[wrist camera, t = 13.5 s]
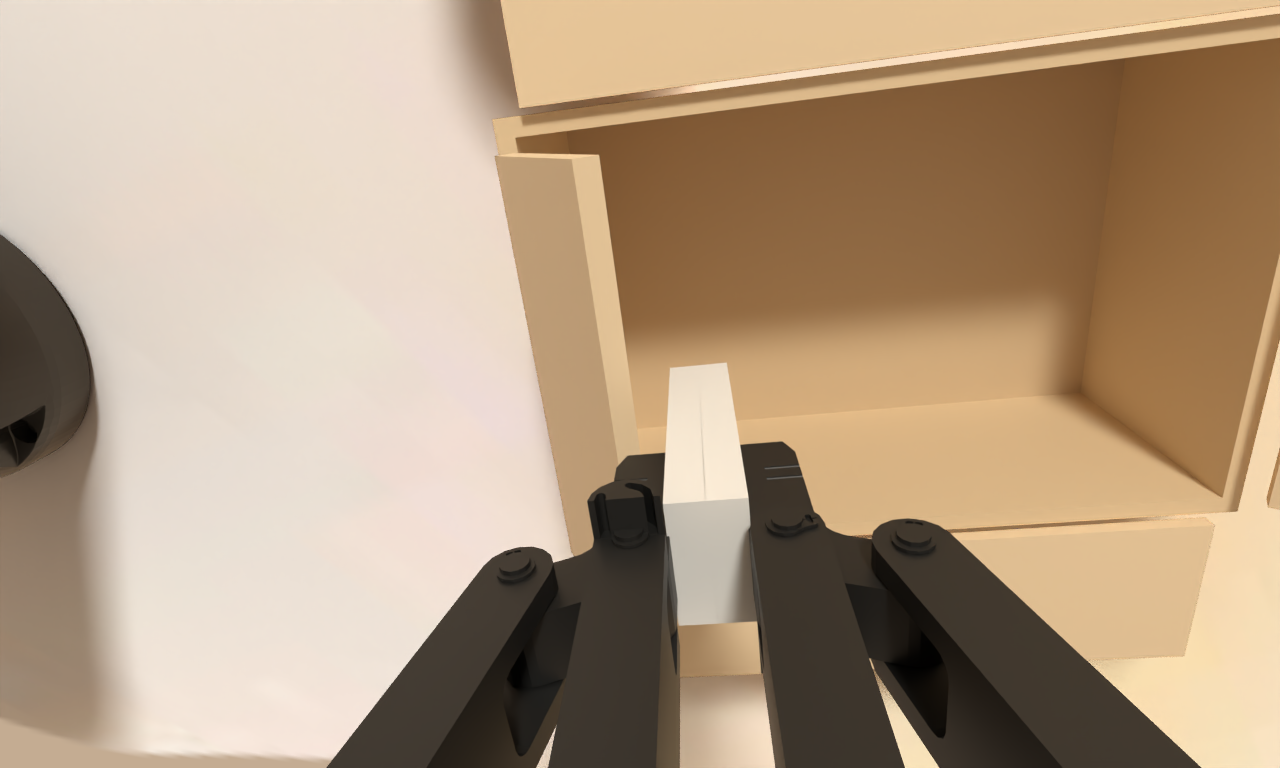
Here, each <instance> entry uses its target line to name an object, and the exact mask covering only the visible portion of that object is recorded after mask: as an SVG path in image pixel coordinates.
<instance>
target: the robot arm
mask: <svg viewBox="0 0 1280 768" xmlns="http://www.w3.org/2000/svg"><path fill="white" fill-rule="evenodd" d="M89 392H90V374H89V366H88V360H87V355H86V352H85V348H84V345H83V342H82V339H81V336H80V333H79V331H78V329H77V326H76V324H75V322H74V320H73V318H72V316H71V314H70V312H69V310H68V309H67V307H66V305H65V303H64V302H63V300H62V299H61V297H60V296H59V294H58V293H57V291H56V290H55V289H54V287H53V286H52V285H51V283H50V282H49V281H48V280H47V278H46V277H45V276H44V275H43V273H42V272H41V271H40V270H39V269H38V268H37V267H36V266H35V265H34V264H33V263H32V262H31V261H30V260H29V259H28V258H27V257H26V256H25V255H24V254H23V253H22V252H21V251H20V250H19V249H18V248H17V247H16V246H14V245H13V244H12V243H11V242H9V241H8V240H7V239H6V238H5V237H3V236H2V235H0V478H1V477H4V476H6V475H9V474H12V473H14V472H17V471H19V470H21V469H23V468H25V467H26V466H28V465H30V464H32V463H34V462H36V461H37V460H39V459H41V458H43V457H45V456H46V455H48V454H50V453H52V452H54V451H55V450H57V449H58V448H60V447H61V446H62V445H63V444H65V443H66V442H67V441H68V440H69V439H70V438H71V437H72V435H73V434H74V433H75V432H76V430H77V429H78V427H79V425H80V424H81V421H82V419H83V417H84V414H85V412H86V408H87V404H88V399H89ZM587 504H588V509H589V515H590V520H591V526H592V531H593V537H594V542H593V547H592V548H591V549H590V550H588V551H586V552H584V553H582V554H580V555H578V556H575V557H572V558H569V559H565V560H562V561H558V562H555V563H553V561H552V557H551V555H550V554H549V553H547V552H546V551H545V550H543V549H539V548H535V547H518V548H514V549H511V550H508V551H504V552H503V553H501V554H499V555H497V556H495V557H493V558H492V559H491V560H490V561H489V562H488V563H486V564H485V565H484V566H483V568H482V569H481V570H480V571H479V573H478V574H477V575H476V576H475V578H474V579H473V580H472V582H471V583H470V584H469V585H468V587H467V588H466V589H465V591H464V592H463V593H462V594H461V596H460V597H459V598H458V600H457V601H456V602H455V603H454V605H453V606H452V607H451V609H450V610H449V611H448V612H447V614H446V615H445V616H444V618H443V619H442V620H441V621H440V623H439V624H438V625H437V627H436V628H435V629H434V630H433V632H432V633H431V634H430V636H429V637H428V638H427V639H426V641H425V642H424V643H423V644H422V646H421V647H420V648H419V650H418V651H417V652H416V653H415V655H414V656H413V657H412V659H411V660H410V661H409V662H408V664H407V665H406V666H405V668H404V669H403V670H402V671H401V673H400V674H399V675H398V677H397V678H396V679H395V680H394V682H393V683H392V684H391V686H390V687H389V688H388V689H387V691H386V692H385V693H384V695H383V696H382V697H381V698H380V700H379V701H378V702H377V704H376V705H375V706H374V707H373V709H372V710H371V711H370V712H369V714H368V715H367V716H366V718H365V719H364V720H363V721H362V723H361V724H360V725H359V727H358V728H357V729H356V730H355V732H354V733H353V734H352V736H351V737H350V738H349V739H348V741H347V742H346V743H345V745H344V746H343V747H342V748H341V750H340V751H339V752H338V754H337V755H336V756H335V757H334V759H333V760H332V761H331V763H330V764H329V765H328V766H327V768H536V767H537V765H538V763H539V760H540V758H541V756H542V754H543V752H544V750H545V748H546V746H547V744H548V742H549V739H550V737H551V735H552V733H553V731H554V729H555V727H556V731H555V736H554V741H553V746H552V751H551V756H550V761H549V766H548V768H680V642H679V634H678V627H677V616H678V624H679V626H684V625H702V624H720V623H738V622H756V621H757V626H758V639H759V652H760V665H761V674H763V678H764V685H765V693H766V700H767V708H768V715H769V723H770V730H771V738H772V745H773V753H774V760H775V768H905V767H904V763H903V760H902V757H901V754H900V751H899V748H898V745H897V742H896V739H895V736H894V733H893V730H892V727H891V724H890V721H889V718H888V715H887V711H886V708H885V705H884V702H883V699H882V696H881V693H880V690H879V687H878V684H877V681H876V678H875V675H874V672H873V669H872V666H871V662H870V659H871V661H872V664H873V666H874V669H875V671H876V673H877V674H878V676H879V677H880V679H881V680H882V682H883V683H884V685H885V686H886V688H887V689H888V691H889V692H890V694H891V695H892V697H893V698H894V700H895V701H896V703H897V704H898V706H899V707H900V709H901V710H902V712H903V713H904V715H905V716H906V718H907V719H908V721H909V722H910V724H911V725H912V727H913V729H914V730H915V732H916V733H917V735H918V736H919V738H920V739H921V741H922V742H923V744H924V745H925V747H926V748H927V750H928V751H929V753H930V754H931V756H932V757H933V759H934V760H935V762H936V763H937V765H938V766H939V768H1201V767H1200V766H1199V765H1198V764H1197V763H1196V762H1195V761H1194V760H1193V759H1191V758H1190V757H1189V756H1188V755H1187V754H1186V753H1185V752H1184V751H1183V750H1182V749H1181V748H1180V747H1179V746H1178V745H1176V744H1175V743H1174V742H1173V741H1172V740H1171V739H1170V738H1169V737H1168V736H1167V735H1166V734H1165V733H1164V732H1163V731H1161V730H1160V729H1159V728H1158V727H1157V726H1156V725H1155V724H1154V723H1153V722H1152V721H1151V720H1150V719H1149V718H1148V717H1147V716H1145V715H1144V714H1143V713H1142V712H1141V711H1140V710H1139V709H1138V708H1137V707H1136V706H1135V705H1134V704H1133V703H1132V702H1130V701H1129V700H1128V699H1127V698H1126V697H1125V696H1124V695H1123V694H1122V693H1121V692H1120V691H1119V690H1118V689H1117V688H1115V687H1114V686H1113V685H1112V684H1111V683H1110V682H1109V681H1108V680H1107V679H1106V678H1105V677H1104V676H1103V675H1102V674H1101V673H1099V672H1098V671H1097V670H1096V669H1095V668H1094V667H1093V666H1092V665H1091V664H1090V663H1089V662H1088V661H1087V660H1086V659H1084V658H1083V657H1082V656H1081V655H1080V654H1079V653H1078V652H1077V651H1076V650H1075V649H1074V648H1073V647H1072V646H1071V645H1069V644H1068V643H1067V642H1066V641H1065V640H1064V639H1063V638H1062V637H1061V636H1060V635H1059V634H1058V633H1057V632H1056V631H1055V630H1053V629H1052V628H1051V627H1050V626H1049V625H1048V624H1047V623H1046V622H1045V621H1044V620H1043V619H1042V618H1041V617H1040V616H1038V615H1037V614H1036V613H1035V612H1034V611H1033V610H1032V609H1031V608H1030V607H1029V606H1028V605H1027V604H1026V603H1025V602H1023V601H1022V600H1021V599H1020V598H1019V597H1018V596H1017V595H1016V594H1015V593H1014V592H1013V591H1012V590H1011V589H1010V588H1009V587H1007V586H1006V585H1005V584H1004V583H1003V582H1002V581H1001V580H1000V579H999V578H998V577H997V576H996V575H995V574H994V573H992V572H991V571H990V570H989V569H988V568H987V567H986V566H985V565H984V564H983V563H982V562H981V561H980V560H979V559H977V558H976V557H975V556H974V555H973V554H972V553H971V552H970V551H969V550H968V549H967V548H966V547H965V546H964V545H963V544H961V543H960V542H959V541H958V540H957V539H956V538H955V537H954V536H953V535H952V534H951V533H950V532H948V531H946V530H945V529H943V528H942V527H940V526H939V525H936V524H933V523H930V522H928V521H925V520H918V519H910V518H906V519H895V520H891V521H888V522H885V523H883V524H880V525H879V526H878V527H877V528H876V529H875V530H874V531H873V535H872V539H866V538H858V537H852V536H847V535H843V534H840V533H837V532H835V531H832V530H831V529H829V528H827V527H826V525H825V522H824V521H823V519H822V518H821V517H820V515H819V514H817V513H815V512H814V510H813V506H812V503H811V500H810V497H809V494H808V490H807V487H806V484H805V481H804V478H803V475H802V471H801V468H800V467H799V462H798V459H797V456H796V452H795V451H794V450H793V449H791V448H790V447H789V446H788V445H786V444H785V443H784V442H783V441H779V442H767V443H755V444H743V445H740V442H739V436H738V429H737V423H736V417H735V411H734V405H733V398H732V392H731V386H730V380H729V374H728V367H727V363H717V364H707V365H696V366H686V367H675V368H670V377H669V396H668V415H667V434H666V452H665V453H653V454H641V455H629V456H627V457H626V458H625V459H624V460H623V461H622V462H621V463H620V464H619V465H618V466H617V467H616V472H615V478H614V482H611V483H608V484H606V485H604V486H601V487H599V488H598V489H597V490H595V491H594V492H593V493H591V495H590V497H589V499H588V500H587ZM556 725H557V726H556Z"/></svg>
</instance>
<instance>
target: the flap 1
mask: <svg viewBox="0 0 1280 768" xmlns="http://www.w3.org/2000/svg"><path fill="white" fill-rule="evenodd" d="M495 160H496V165H497V170H498V176H499V181H500V186H501V191H502V196H503V201H504V206H505V212H506V217H507V222H508V227H509V232H510V237H511V243H512V248H513V253H514V258H515V263H516V268H517V273H518V279H519V284H520V289H521V294H522V299H523V304H524V310H525V315H526V320H527V325H528V330H529V335H530V340H531V346H532V351H533V356H534V361H535V366H536V371H537V377H538V382H539V387H540V392H541V397H542V402H543V407H544V413H545V418H546V423H547V428H548V433H549V438H550V444H551V449H552V454H553V459H554V464H555V469H556V474H557V480H558V485H559V490H560V495H561V500H562V505H563V510H564V516H565V521H566V526H567V531H568V536H569V541H570V547H571V552H572V553H573V555H574V557H575V556H578V555H580V554H582V553H584V552H586V551H588V550H590V549H591V548H592V547H593V542H594V537H593V531H592V526H591V520H590V515H589V509H588V504H587V500H588V499H589V497H590V495H591V493H593V492H594V491H595V490H597V489H598V488H599V487H601V486H604V485H606V484H608V483H611V482H614V478H615V472H616V467H617V466H618V465H619V464H620V463H621V462H622V461H623V460H624V459H625V458H626V457H627V456H629V455H641V454H640V447H639V440H638V433H637V425H636V418H635V411H634V404H633V397H632V389H631V382H630V375H629V368H628V361H627V353H626V346H625V339H624V332H623V325H622V317H621V310H620V303H619V296H618V288H617V281H616V274H615V267H614V260H613V252H612V245H611V238H610V231H609V224H608V216H607V209H606V202H605V195H604V188H603V180H602V173H601V166H600V159H599V155H583V154H533V153H512V154H505V155H499V156H495Z"/></svg>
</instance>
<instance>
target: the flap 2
mask: <svg viewBox="0 0 1280 768" xmlns="http://www.w3.org/2000/svg"><path fill="white" fill-rule="evenodd" d="M1267 504H1268V508H1274V509H1280V449H1279V453H1278V457H1277V461H1276V464H1275V468H1274V472H1273V476H1272V480H1271V483H1270V487H1269V491H1268V495H1267Z"/></svg>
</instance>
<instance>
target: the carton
mask: <svg viewBox="0 0 1280 768" xmlns="http://www.w3.org/2000/svg"><path fill="white" fill-rule="evenodd" d="M500 1H501V7H502V12H503V18H504V24H505V29H506V35H507V41H508V46H509V52H510V58H511V63H512V69H513V75H514V80H515V86H516V92H517V97H518V103H519V108H527V107H535V106H542V105H549V104H557V103H564V102H572V101H579V100H586V99H594V98H601V97H608V96H616V95H623V94H631V93H638V92H645V91H653V90H660V89H668V88H675V87H682V86H690V85H697V84H704V83H712V82H719V81H727V80H734V79H741V78H749V77H756V76H764V75H771V74H778V73H786V72H793V71H801V70H808V69H815V68H823V67H830V66H837V65H845V64H852V63H860V62H867V61H874V60H882V59H889V58H897V57H904V56H911V55H919V54H926V53H933V52H941V51H948V50H956V49H963V48H970V47H978V46H985V45H993V44H1000V43H1007V42H1015V41H1022V40H1029V39H1037V38H1044V37H1052V36H1059V35H1066V34H1074V33H1081V32H1089V31H1096V30H1103V29H1111V28H1118V27H1126V26H1133V25H1140V24H1148V23H1155V22H1162V21H1170V20H1177V19H1185V18H1192V17H1199V16H1207V15H1214V14H1222V13H1229V12H1236V11H1244V10H1251V9H1258V8H1266V7H1273V6H1280V0H500ZM492 121H493V127H494V132H495V137H496V142H497V148H498V153H499V155H505V154H512V153H533V154H583V155H599V159H600V166H601V173H602V180H603V188H604V195H605V202H606V209H607V216H608V224H609V231H610V238H611V245H612V252H613V260H614V267H615V274H616V281H617V288H618V296H619V303H620V310H621V317H622V325H623V332H624V339H625V346H626V353H627V361H628V368H629V375H630V382H631V389H632V397H633V404H634V411H635V418H636V425H637V433H638V440H639V447H640V454H653V453H665V452H666V434H667V415H668V396H669V377H670V368H675V367H686V366H696V365H707V364H717V363H727V367H728V374H729V380H730V386H731V392H732V398H733V405H734V411H735V417H736V423H737V429H738V436H739V442H740V445H743V444H755V443H767V442H779V441H783V442H784V443H785V444H786V445H788V446H789V447H790V448H791V449H793V450H794V451H795V452H796V456H797V459H798V462H799V467H800V468H801V471H802V475H803V478H804V481H805V484H806V487H807V490H808V494H809V497H810V500H811V503H812V506H813V510H814V512H815V513H817V514H819V515H820V517H821V518H822V519H823V521H824V522H825V525H826V527H827V528H829V529H831V530H832V531H835V532H837V533H840V534H843V535H847V536H855V535H871V534H873V531H874V530H875V529H876V528H877V527H878V526H879V525H880V524H883V523H885V522H888V521H891V520H895V519H906V518H910V519H918V520H925V521H928V522H930V523H933V524H936V525H939V526H940V527H942V528H943V529H945V530H950V529H966V528H982V527H998V526H1014V525H1030V524H1045V523H1061V522H1077V521H1093V520H1109V519H1125V518H1141V517H1157V516H1173V515H1189V514H1205V513H1220V512H1236V511H1238V507H1239V503H1240V499H1241V495H1242V491H1243V487H1244V482H1245V478H1246V474H1247V470H1248V466H1249V462H1250V458H1251V454H1252V450H1253V446H1254V442H1255V438H1256V434H1257V430H1258V426H1259V422H1260V417H1261V413H1262V409H1263V405H1264V401H1265V397H1266V393H1267V389H1268V385H1269V381H1270V377H1271V373H1272V369H1273V365H1274V361H1275V357H1276V352H1277V348H1278V344H1279V340H1280V14H1274V15H1266V16H1259V17H1252V18H1244V19H1237V20H1229V21H1222V22H1214V23H1207V24H1199V25H1192V26H1184V27H1177V28H1170V29H1162V30H1155V31H1147V32H1140V33H1132V34H1125V35H1117V36H1110V37H1103V38H1095V39H1088V40H1080V41H1073V42H1065V43H1058V44H1050V45H1043V46H1035V47H1028V48H1021V49H1013V50H1006V51H998V52H991V53H983V54H976V55H968V56H961V57H954V58H946V59H939V60H931V61H924V62H916V63H909V64H901V65H894V66H886V67H879V68H872V69H864V70H857V71H849V72H842V73H834V74H827V75H819V76H812V77H805V78H797V79H790V80H782V81H775V82H767V83H760V84H752V85H745V86H737V87H730V88H723V89H715V90H708V91H700V92H693V93H685V94H678V95H670V96H663V97H655V98H648V99H641V100H633V101H626V102H618V103H611V104H603V105H596V106H588V107H581V108H574V109H566V110H559V111H551V112H544V113H536V114H529V115H521V116H514V117H506V118H499V119H492ZM1214 527H1215V525H1214V524H1213V523H1211V522H1210V521H1209V520H1208V519H1206V518H1205V517H1201V518H1185V519H1169V520H1153V521H1137V522H1121V523H1105V524H1089V525H1073V526H1057V527H1041V528H1025V529H1009V530H993V531H977V532H961V533H951V534H952V535H953V536H954V537H955V538H956V539H957V540H958V541H959V542H960V543H961V544H963V545H964V546H965V547H966V548H967V549H968V550H969V551H970V552H971V553H972V554H973V555H974V556H975V557H976V558H977V559H979V560H980V561H981V562H982V563H983V564H984V565H985V566H986V567H987V568H988V569H989V570H990V571H991V572H992V573H994V574H995V575H996V576H997V577H998V578H999V579H1000V580H1001V581H1002V582H1003V583H1004V584H1005V585H1006V586H1007V587H1009V588H1010V589H1011V590H1012V591H1013V592H1014V593H1015V594H1016V595H1017V596H1018V597H1019V598H1020V599H1021V600H1022V601H1023V602H1025V603H1026V604H1027V605H1028V606H1029V607H1030V608H1031V609H1032V610H1033V611H1034V612H1035V613H1036V614H1037V615H1038V616H1040V617H1041V618H1042V619H1043V620H1044V621H1045V622H1046V623H1047V624H1048V625H1049V626H1050V627H1051V628H1052V629H1053V630H1055V631H1056V632H1057V633H1058V634H1059V635H1060V636H1061V637H1062V638H1063V639H1064V640H1065V641H1066V642H1067V643H1068V644H1069V645H1071V646H1072V647H1073V648H1074V649H1075V650H1076V651H1077V652H1078V653H1079V654H1080V655H1081V656H1082V657H1083V658H1084V659H1086V660H1107V659H1131V658H1154V657H1178V656H1184V655H1185V651H1186V647H1187V643H1188V638H1189V634H1190V630H1191V626H1192V621H1193V617H1194V613H1195V608H1196V604H1197V600H1198V596H1199V591H1200V587H1201V583H1202V578H1203V574H1204V570H1205V566H1206V561H1207V557H1208V553H1209V548H1210V544H1211V540H1212V536H1213V531H1214ZM866 539H872V538H866ZM677 627H678V634H679V642H680V678H681V677H704V676H728V675H752V674H761V665H760V652H759V639H758V626H757V621H756V622H738V623H720V624H702V625H684V626H679V624H678V616H677ZM870 662H871V666H872V669H874V666H873V664H872V661H871V659H870Z"/></svg>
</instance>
